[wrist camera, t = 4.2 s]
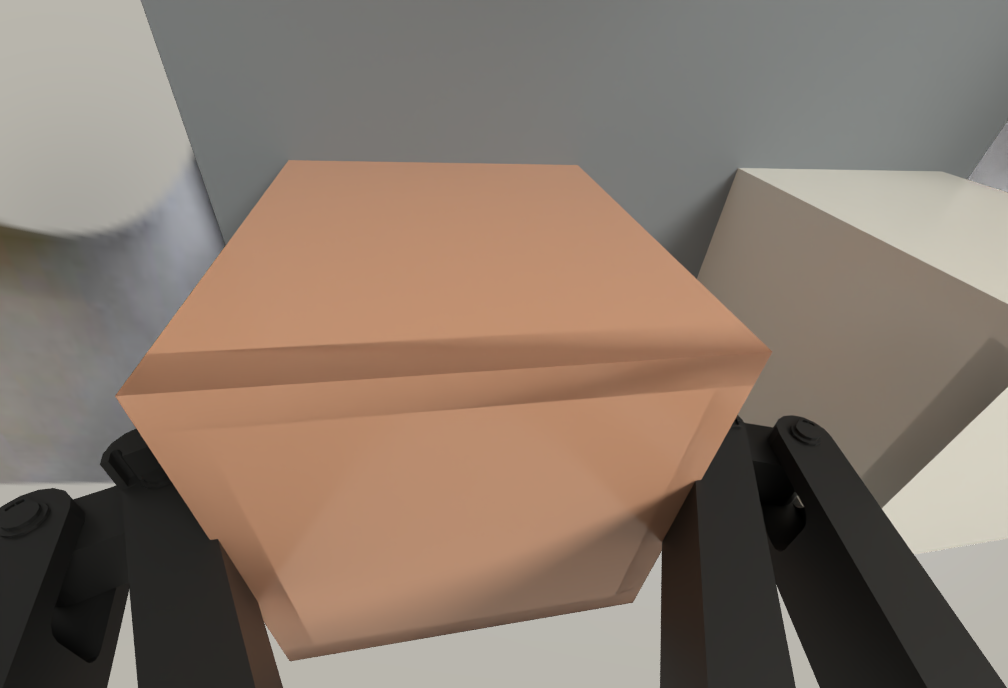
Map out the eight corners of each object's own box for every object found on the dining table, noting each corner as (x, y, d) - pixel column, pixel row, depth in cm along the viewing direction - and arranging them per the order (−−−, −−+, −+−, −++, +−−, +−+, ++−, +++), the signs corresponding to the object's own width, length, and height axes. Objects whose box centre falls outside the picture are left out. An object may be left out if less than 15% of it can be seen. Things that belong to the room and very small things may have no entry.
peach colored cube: (338, 383, 18) (289, 661, 11) (288, 160, 13) (114, 395, 5) (545, 369, 20) (633, 602, 12) (577, 164, 15) (772, 351, 7)
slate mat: (291, 419, 20) (289, 429, 20) (-41, -577, 7) (-75, -622, 6) (817, 377, 25) (825, 384, 24) (1232, -245, 12) (1266, -255, 11)
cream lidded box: (665, 361, 21) (816, 571, 13) (738, 167, 16) (1065, 332, 8) (825, 350, 23) (1042, 532, 15) (941, 171, 17) (1379, 311, 9)
